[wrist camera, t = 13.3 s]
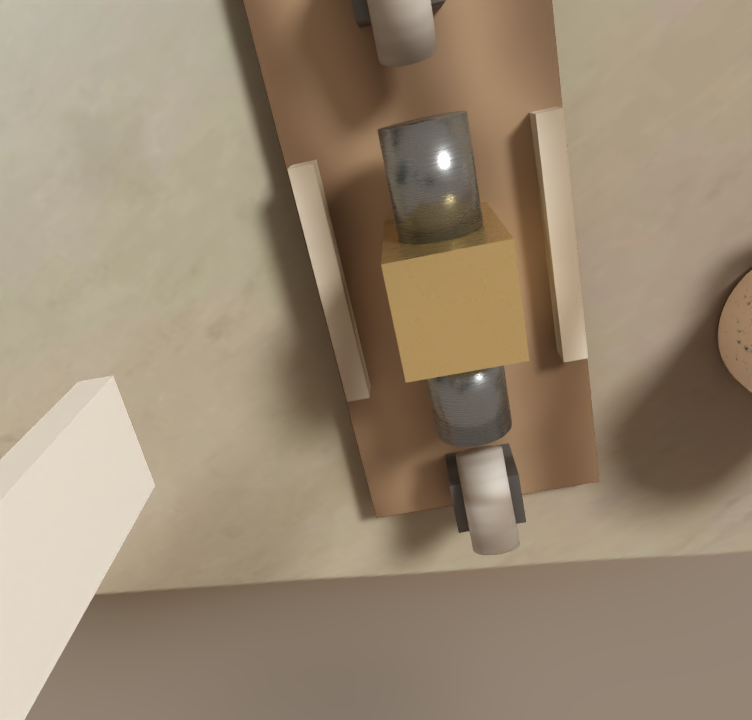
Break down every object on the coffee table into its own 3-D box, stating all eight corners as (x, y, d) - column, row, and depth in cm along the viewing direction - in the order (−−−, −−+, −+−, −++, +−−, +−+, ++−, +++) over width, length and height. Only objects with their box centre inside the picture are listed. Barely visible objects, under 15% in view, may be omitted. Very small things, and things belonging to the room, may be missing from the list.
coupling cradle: (377, 503, 41) (374, 586, 34) (240, -33, 30) (196, -64, 23) (592, 468, 39) (632, 547, 33) (533, -108, 28) (576, -165, 22)
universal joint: (418, 394, 36) (425, 475, 29) (364, 126, 31) (355, 141, 23) (511, 378, 35) (541, 456, 28) (472, 102, 30) (497, 111, 23)
